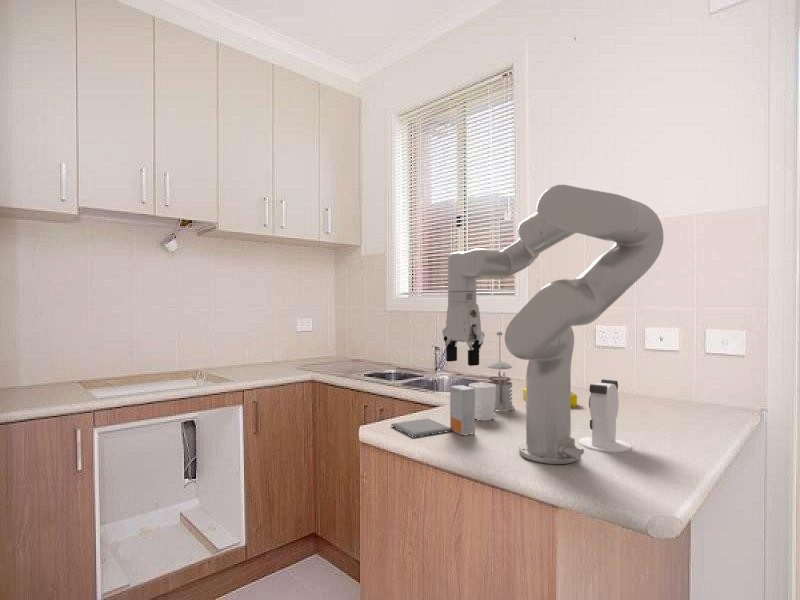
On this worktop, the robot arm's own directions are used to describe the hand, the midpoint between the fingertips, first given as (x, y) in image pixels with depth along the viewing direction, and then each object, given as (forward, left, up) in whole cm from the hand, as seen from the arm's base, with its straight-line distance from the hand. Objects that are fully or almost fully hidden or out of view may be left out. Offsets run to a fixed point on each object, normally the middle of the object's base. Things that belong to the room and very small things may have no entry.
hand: (462, 363), depth 120 cm
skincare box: (0, 0, -18) cm, 19 cm away
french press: (+16, -27, -18) cm, 36 cm away
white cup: (+9, -14, -19) cm, 25 cm away
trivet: (+8, +8, -18) cm, 22 cm away
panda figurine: (-25, -24, -19) cm, 39 cm away
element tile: (+15, -48, -19) cm, 53 cm away
